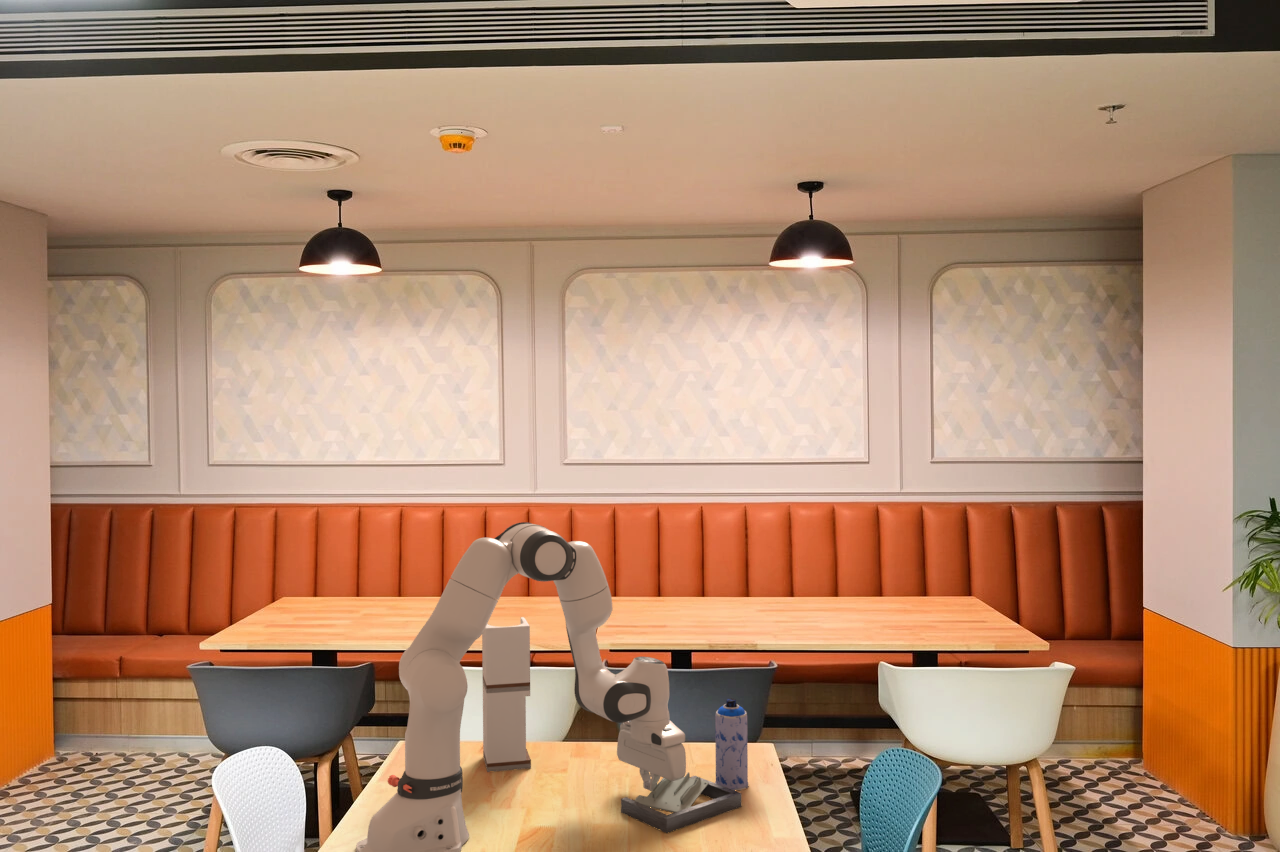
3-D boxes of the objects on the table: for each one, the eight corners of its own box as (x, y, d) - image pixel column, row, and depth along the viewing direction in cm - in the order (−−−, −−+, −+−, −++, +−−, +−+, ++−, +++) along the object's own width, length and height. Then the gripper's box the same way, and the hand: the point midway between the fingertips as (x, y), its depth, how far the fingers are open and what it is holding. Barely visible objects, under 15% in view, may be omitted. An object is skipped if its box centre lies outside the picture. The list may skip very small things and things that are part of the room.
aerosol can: (755, 785, 243) (755, 699, 243) (731, 793, 238) (731, 706, 238) (731, 776, 250) (731, 693, 249) (707, 784, 245) (707, 699, 244)
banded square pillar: (530, 768, 256) (529, 625, 256) (487, 772, 254) (485, 628, 254) (525, 753, 268) (524, 617, 267) (483, 757, 265) (482, 619, 265)
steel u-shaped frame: (666, 833, 216) (666, 818, 216) (621, 812, 228) (621, 798, 228) (741, 806, 230) (741, 793, 230) (695, 788, 242) (695, 775, 242)
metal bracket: (660, 762, 243) (717, 774, 235) (664, 784, 245) (721, 796, 237) (628, 799, 232) (687, 812, 224) (632, 821, 233) (691, 835, 225)
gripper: (610, 721, 243) (610, 780, 243) (669, 742, 227) (669, 805, 227) (631, 716, 247) (631, 774, 247) (690, 736, 231) (690, 798, 231)
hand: (650, 789), depth 237 cm, fingers closed
